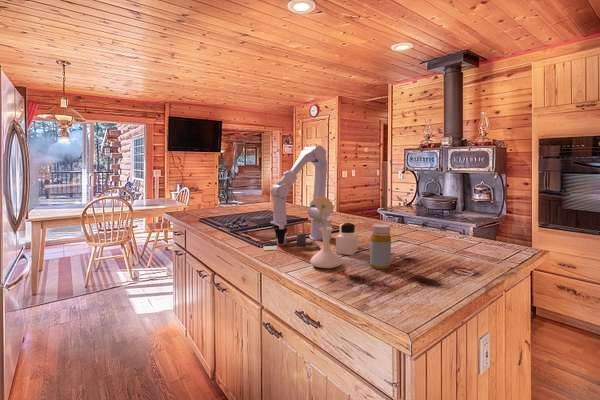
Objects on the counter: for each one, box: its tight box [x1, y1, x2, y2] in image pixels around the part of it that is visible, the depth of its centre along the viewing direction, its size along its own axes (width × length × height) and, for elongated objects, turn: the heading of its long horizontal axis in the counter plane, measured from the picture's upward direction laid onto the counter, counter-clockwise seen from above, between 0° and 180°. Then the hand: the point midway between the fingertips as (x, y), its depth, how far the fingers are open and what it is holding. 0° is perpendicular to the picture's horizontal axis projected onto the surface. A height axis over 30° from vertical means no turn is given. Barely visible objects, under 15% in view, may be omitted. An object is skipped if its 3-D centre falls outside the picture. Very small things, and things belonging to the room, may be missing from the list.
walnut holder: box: [287, 240, 321, 252], centre depth 148 cm, size 12×10×1 cm
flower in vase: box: [309, 196, 343, 269], centre depth 121 cm, size 13×11×25 cm
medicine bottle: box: [335, 222, 359, 256], centre depth 139 cm, size 7×7×12 cm
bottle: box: [369, 223, 392, 271], centre depth 120 cm, size 7×7×15 cm
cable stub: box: [296, 232, 307, 247], centre depth 147 cm, size 4×4×6 cm
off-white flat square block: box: [262, 245, 278, 252], centre depth 145 cm, size 6×6×1 cm
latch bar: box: [276, 234, 288, 247], centre depth 155 cm, size 4×10×5 cm, turn 10°
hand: (280, 241), depth 151 cm, fingers open, 6 cm apart
